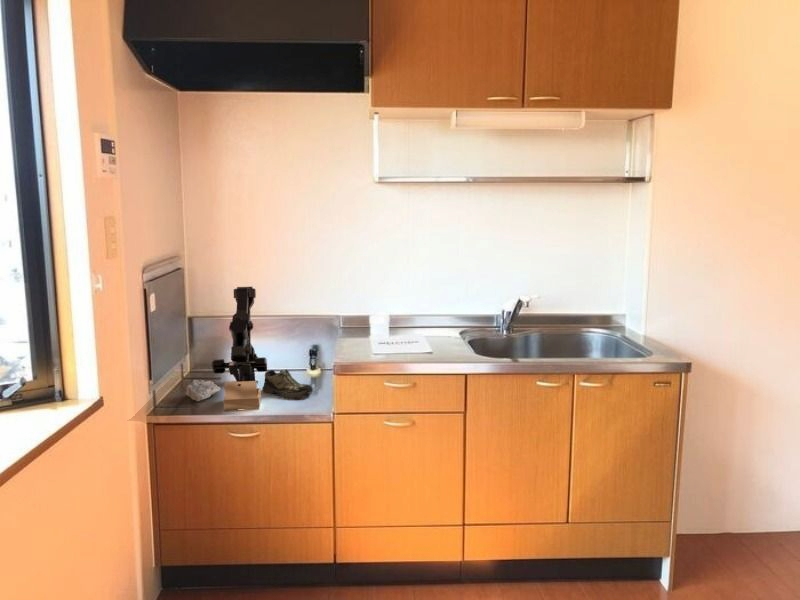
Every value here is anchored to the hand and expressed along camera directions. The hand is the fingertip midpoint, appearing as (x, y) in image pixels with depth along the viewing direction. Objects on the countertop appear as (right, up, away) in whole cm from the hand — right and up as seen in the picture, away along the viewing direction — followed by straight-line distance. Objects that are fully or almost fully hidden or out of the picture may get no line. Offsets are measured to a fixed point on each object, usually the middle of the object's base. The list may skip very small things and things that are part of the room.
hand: (239, 386), depth 235 cm
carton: (0, -7, +7) cm, 10 cm away
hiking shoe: (+13, -6, +19) cm, 24 cm away
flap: (0, -1, 0) cm, 1 cm away
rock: (-17, -6, +16) cm, 24 cm away
